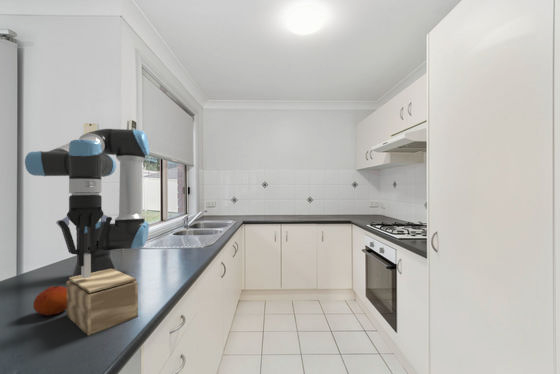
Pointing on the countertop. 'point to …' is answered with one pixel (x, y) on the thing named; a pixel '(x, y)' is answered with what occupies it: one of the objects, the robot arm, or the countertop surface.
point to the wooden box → (101, 306)
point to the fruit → (51, 301)
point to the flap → (102, 280)
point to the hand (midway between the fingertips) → (86, 276)
